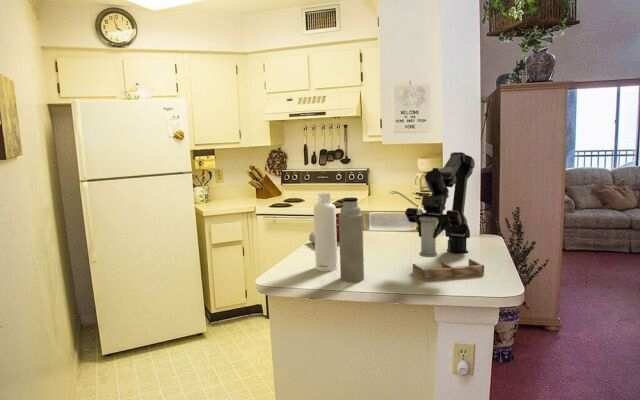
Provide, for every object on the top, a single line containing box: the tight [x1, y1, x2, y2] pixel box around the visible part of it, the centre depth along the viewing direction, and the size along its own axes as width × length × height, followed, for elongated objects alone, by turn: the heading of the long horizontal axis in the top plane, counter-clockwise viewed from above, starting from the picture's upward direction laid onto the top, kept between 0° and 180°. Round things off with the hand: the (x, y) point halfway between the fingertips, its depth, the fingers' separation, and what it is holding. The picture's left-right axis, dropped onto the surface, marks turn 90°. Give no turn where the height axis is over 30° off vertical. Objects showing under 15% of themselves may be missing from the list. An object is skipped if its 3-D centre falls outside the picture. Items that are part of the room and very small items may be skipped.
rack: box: [412, 258, 485, 282], centre depth 153 cm, size 22×9×3 cm, turn 100°
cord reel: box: [418, 216, 438, 258], centre depth 152 cm, size 6×6×13 cm
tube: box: [308, 231, 315, 245], centre depth 195 cm, size 5×5×25 cm
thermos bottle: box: [339, 197, 365, 283], centre depth 150 cm, size 8×8×28 cm
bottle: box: [313, 192, 338, 272], centre depth 163 cm, size 8×8×28 cm
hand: (426, 236), depth 150 cm, fingers closed on cord reel, 5 cm apart
